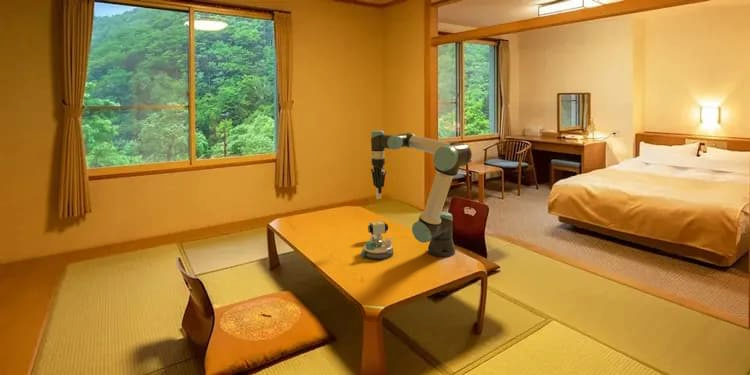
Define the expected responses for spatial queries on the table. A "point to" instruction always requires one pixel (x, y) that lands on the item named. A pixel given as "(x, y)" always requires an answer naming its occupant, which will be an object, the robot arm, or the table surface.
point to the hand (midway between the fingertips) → (378, 198)
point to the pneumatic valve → (378, 229)
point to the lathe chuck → (378, 245)
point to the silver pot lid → (376, 255)
